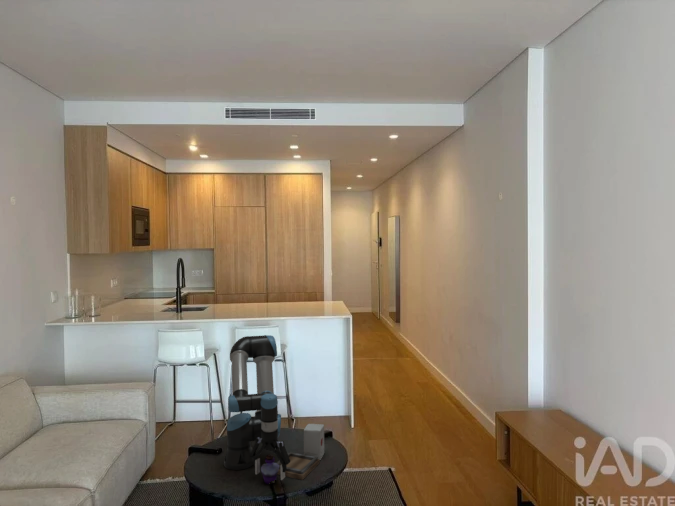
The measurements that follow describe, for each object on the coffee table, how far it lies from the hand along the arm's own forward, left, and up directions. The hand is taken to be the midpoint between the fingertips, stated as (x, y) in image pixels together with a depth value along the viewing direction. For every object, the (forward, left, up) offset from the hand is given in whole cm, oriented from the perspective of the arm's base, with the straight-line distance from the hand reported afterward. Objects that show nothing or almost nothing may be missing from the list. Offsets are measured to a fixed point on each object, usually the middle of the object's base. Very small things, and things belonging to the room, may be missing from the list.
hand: (270, 475), depth 211 cm
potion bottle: (0, 0, -3) cm, 3 cm away
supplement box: (+7, +31, -3) cm, 32 cm away
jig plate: (+4, +16, -3) cm, 17 cm away
